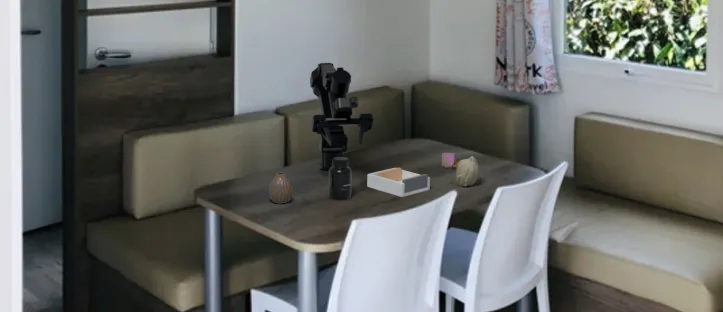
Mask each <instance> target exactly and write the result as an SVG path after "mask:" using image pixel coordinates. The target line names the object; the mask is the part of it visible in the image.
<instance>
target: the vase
mask: <svg viewBox="0 0 723 312" xmlns="http://www.w3.org/2000/svg"><path fill="white" fill-rule="evenodd" d="M293 191H294V190H293V184H292V182H291V181H290V180H289V179H288V177H287V175H286V173H285V172H276V174H275V176H274V178H273V179H272V180H271V181H270V183H269V187H268V194H269V198H270V200H271V201H272V202H273V204H276V203H277V204H276V205H284V204H283V203H285V204H288V203H287V202H290V201H291V199H292V196H293Z"/></svg>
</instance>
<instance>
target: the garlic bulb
mask: <svg viewBox="0 0 723 312" xmlns="http://www.w3.org/2000/svg"><path fill="white" fill-rule="evenodd" d="M479 174H480V166H479V163H478V160H477V159H476V158H475V157H474V156H473V155H471V156H469V158H465V159H461V160H459V162H458V163H457V167H456V170H455V183H456V185H457V186H459V187H471V186H474V184H475V183H476V182H477V180H478V179H479V178H478V177H479Z"/></svg>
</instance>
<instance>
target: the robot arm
mask: <svg viewBox="0 0 723 312" xmlns="http://www.w3.org/2000/svg"><path fill="white" fill-rule="evenodd" d="M350 73H351V72H349V71H347V70H344V67H336V68H335V66H334V63H332V62H319V63H318V64H317V67H316V68H314V69H313V70H312V71H311V73H310V77H309V85H310V88H312V93H313V95H314V96H316V97H317V98H318V100H319V106H320V109H321V110H320V112H321V114H314V115H313V116H312V120H311V121H312V122H311V132H312V133H316V134H318V135H320V136H319V142H318V151H319V152H320V154H321V167H319V170H321V171H326V172H329V169H330V168H331V167H332V166H333V165H332V159H333V158H334V157H345V155H344V154H343V153H345V152H347V151H348V142H349V137H348V136H347V133H345V130H344V126H345V127H346V126H357V127H358V142H359V144H360V145H362V143H363V137H364V135H365V133H368V132H369V131H370V130H372V128H373V125H374V119H375V118H374V115H373V114H372V113H371V112H362V113H361V112H360V113H359V116H358V117H352V116H353V109H357V108H358V107H359V100H358V96H351V97H348V93H349V91H350V85H351V84H352V75H351V74H350Z"/></svg>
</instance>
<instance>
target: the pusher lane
mask: <svg viewBox="0 0 723 312" xmlns="http://www.w3.org/2000/svg"><path fill="white" fill-rule="evenodd" d="M395 168H396V167H393V168H388V169H384V170H379V171H375V172H370V173H368V174H367V175H366V176H367V177H366V178H367V180H366V181H367V182H366V183H367V184H366V185H367V186H366V187H367V188H371V189H374V190H377V191H380V192H384V193H386V194H390V195H394V196H397V197H401V198H404V197H407V196H411V195H414V194H418V193H422V192H427V191H429V190H431V189H430V186H431V177H430V176H429V175H428V174H427V173H423V174H419V173H415V172H411V171H408V170H405V169H401V180H398V181H394V180H390V179H387V178H383V177H380V176H378V172H382V171H386V170H390V169H395Z"/></svg>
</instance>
